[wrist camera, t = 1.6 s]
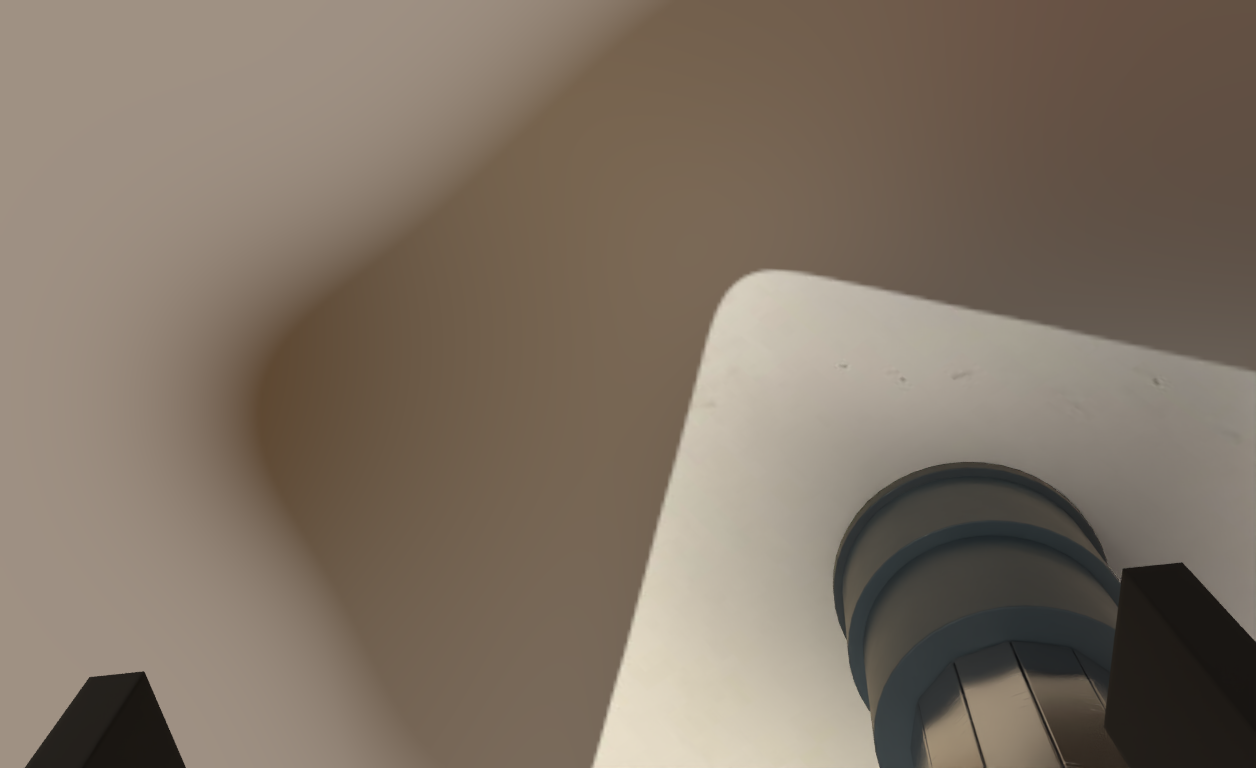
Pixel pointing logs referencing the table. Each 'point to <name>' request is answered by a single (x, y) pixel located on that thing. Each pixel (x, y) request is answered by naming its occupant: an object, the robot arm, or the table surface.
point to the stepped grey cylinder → (963, 584)
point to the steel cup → (1016, 711)
